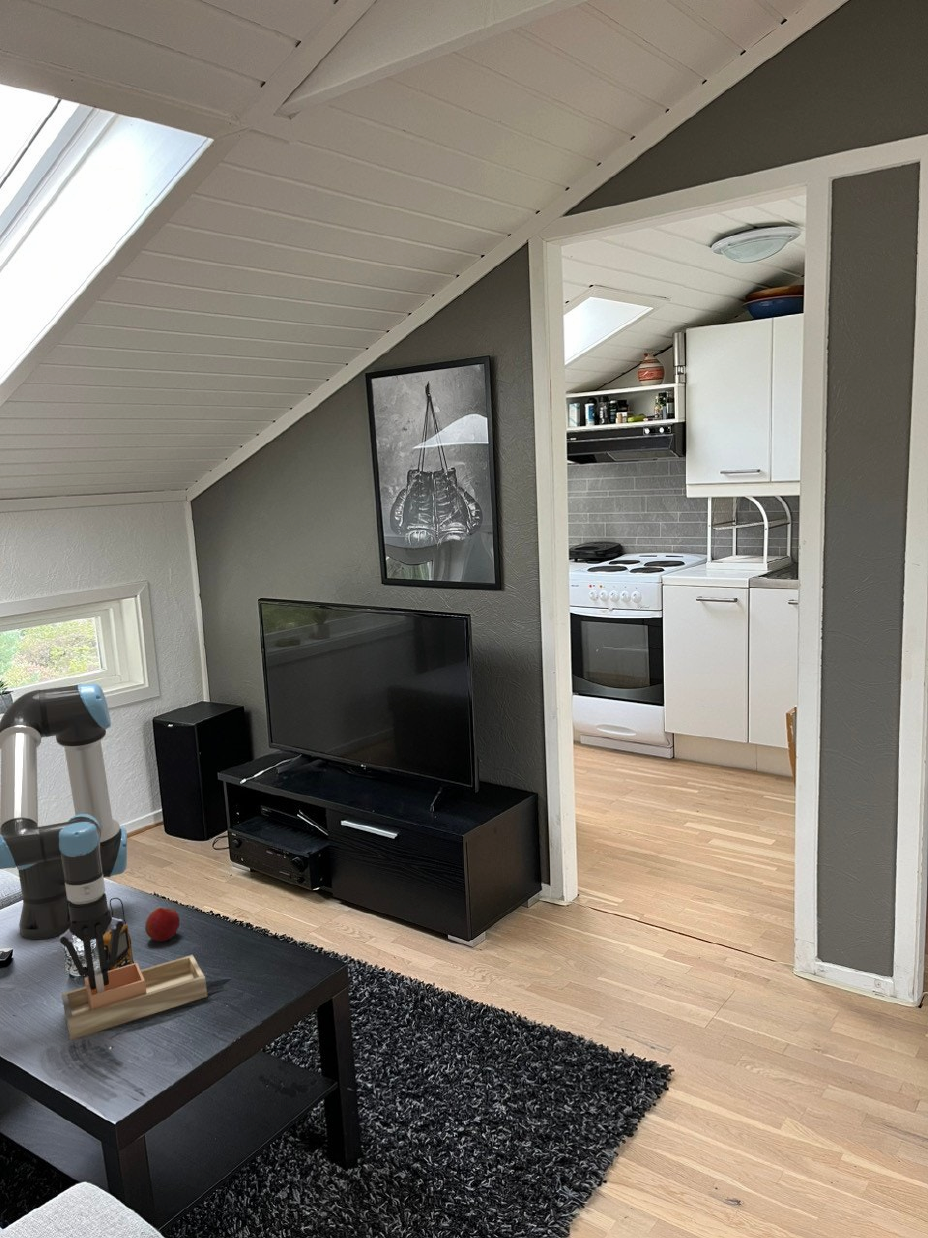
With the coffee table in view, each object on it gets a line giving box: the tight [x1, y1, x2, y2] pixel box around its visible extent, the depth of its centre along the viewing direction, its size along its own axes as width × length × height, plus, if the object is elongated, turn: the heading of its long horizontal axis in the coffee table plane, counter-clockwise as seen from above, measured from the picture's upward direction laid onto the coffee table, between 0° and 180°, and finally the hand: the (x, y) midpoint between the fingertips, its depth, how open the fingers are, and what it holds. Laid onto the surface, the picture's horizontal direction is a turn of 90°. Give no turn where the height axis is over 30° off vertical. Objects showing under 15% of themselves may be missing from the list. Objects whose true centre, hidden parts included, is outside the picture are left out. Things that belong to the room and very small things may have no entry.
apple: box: [144, 907, 180, 942], centre depth 236 cm, size 8×8×8 cm
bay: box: [61, 954, 208, 1041], centre depth 208 cm, size 12×28×4 cm, turn 119°
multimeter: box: [95, 897, 135, 971], centre depth 215 cm, size 15×10×20 cm
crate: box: [84, 962, 146, 1011], centre depth 206 cm, size 9×11×6 cm
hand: (101, 1000), depth 204 cm, fingers closed
